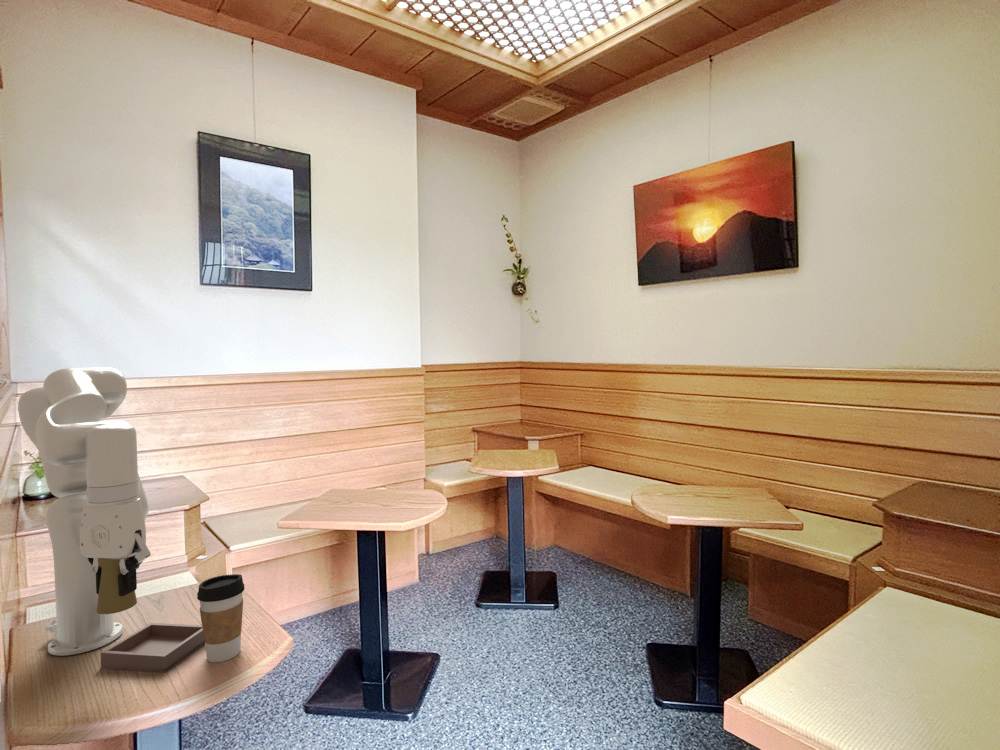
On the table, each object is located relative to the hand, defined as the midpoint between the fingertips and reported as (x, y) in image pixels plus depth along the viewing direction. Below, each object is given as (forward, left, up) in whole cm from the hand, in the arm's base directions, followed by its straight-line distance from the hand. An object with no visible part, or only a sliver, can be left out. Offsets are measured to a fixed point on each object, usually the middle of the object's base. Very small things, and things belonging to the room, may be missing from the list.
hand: (116, 591), depth 97 cm
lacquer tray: (-1, +10, -17) cm, 19 cm away
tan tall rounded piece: (0, 0, -3) cm, 3 cm away
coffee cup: (+13, +11, -17) cm, 24 cm away
